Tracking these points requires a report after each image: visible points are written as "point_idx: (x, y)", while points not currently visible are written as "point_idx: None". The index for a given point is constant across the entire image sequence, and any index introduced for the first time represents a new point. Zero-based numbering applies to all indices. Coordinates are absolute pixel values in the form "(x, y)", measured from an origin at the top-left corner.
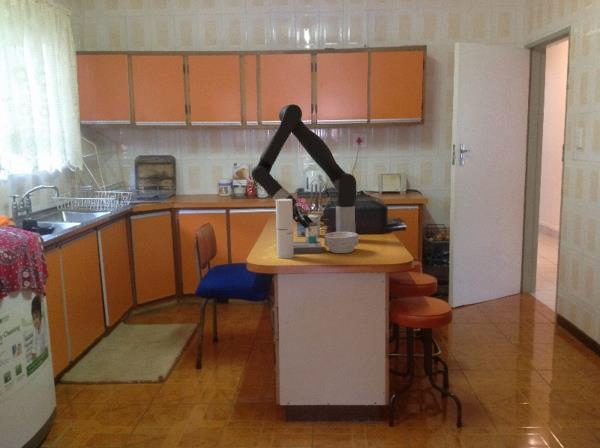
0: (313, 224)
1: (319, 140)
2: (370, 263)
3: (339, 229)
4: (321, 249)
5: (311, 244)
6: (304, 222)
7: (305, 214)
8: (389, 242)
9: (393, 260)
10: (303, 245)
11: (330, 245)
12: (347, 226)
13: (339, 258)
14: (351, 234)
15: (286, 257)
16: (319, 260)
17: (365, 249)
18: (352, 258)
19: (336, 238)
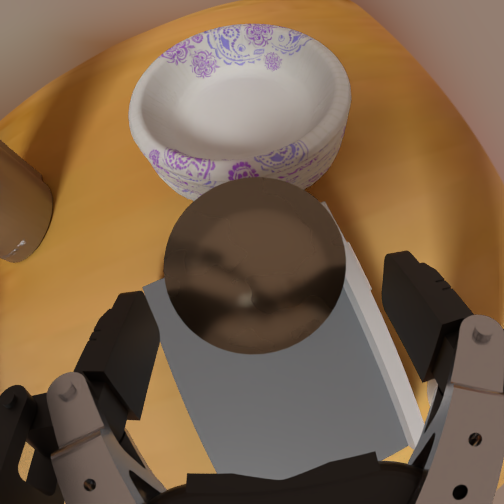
0: (322, 208)
1: None
2: (390, 37)
3: (4, 209)
4: None
5: (357, 266)
6: (442, 293)
7: (99, 413)
8: (70, 78)
9: (321, 5)
10: (380, 321)
11: (341, 140)
12: (4, 159)
13: (389, 116)
14: (169, 68)
15: None
16: (461, 182)
17: None
18: (361, 78)
19: (347, 78)
